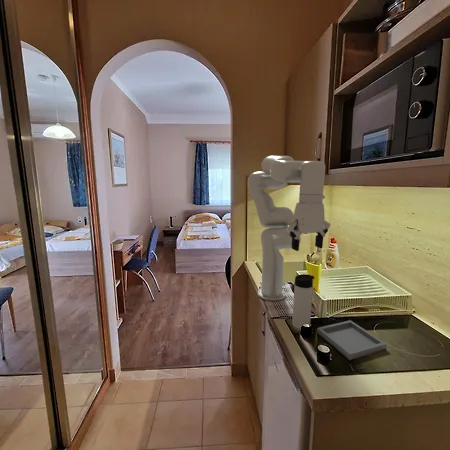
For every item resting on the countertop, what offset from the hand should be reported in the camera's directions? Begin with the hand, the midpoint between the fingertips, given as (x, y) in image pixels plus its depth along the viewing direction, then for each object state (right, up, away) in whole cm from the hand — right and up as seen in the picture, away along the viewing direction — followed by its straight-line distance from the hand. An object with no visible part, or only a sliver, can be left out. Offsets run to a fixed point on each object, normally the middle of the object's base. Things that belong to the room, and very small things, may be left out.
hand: (307, 248), depth 94 cm
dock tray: (+14, -31, -2) cm, 34 cm away
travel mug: (0, -30, +6) cm, 30 cm away
